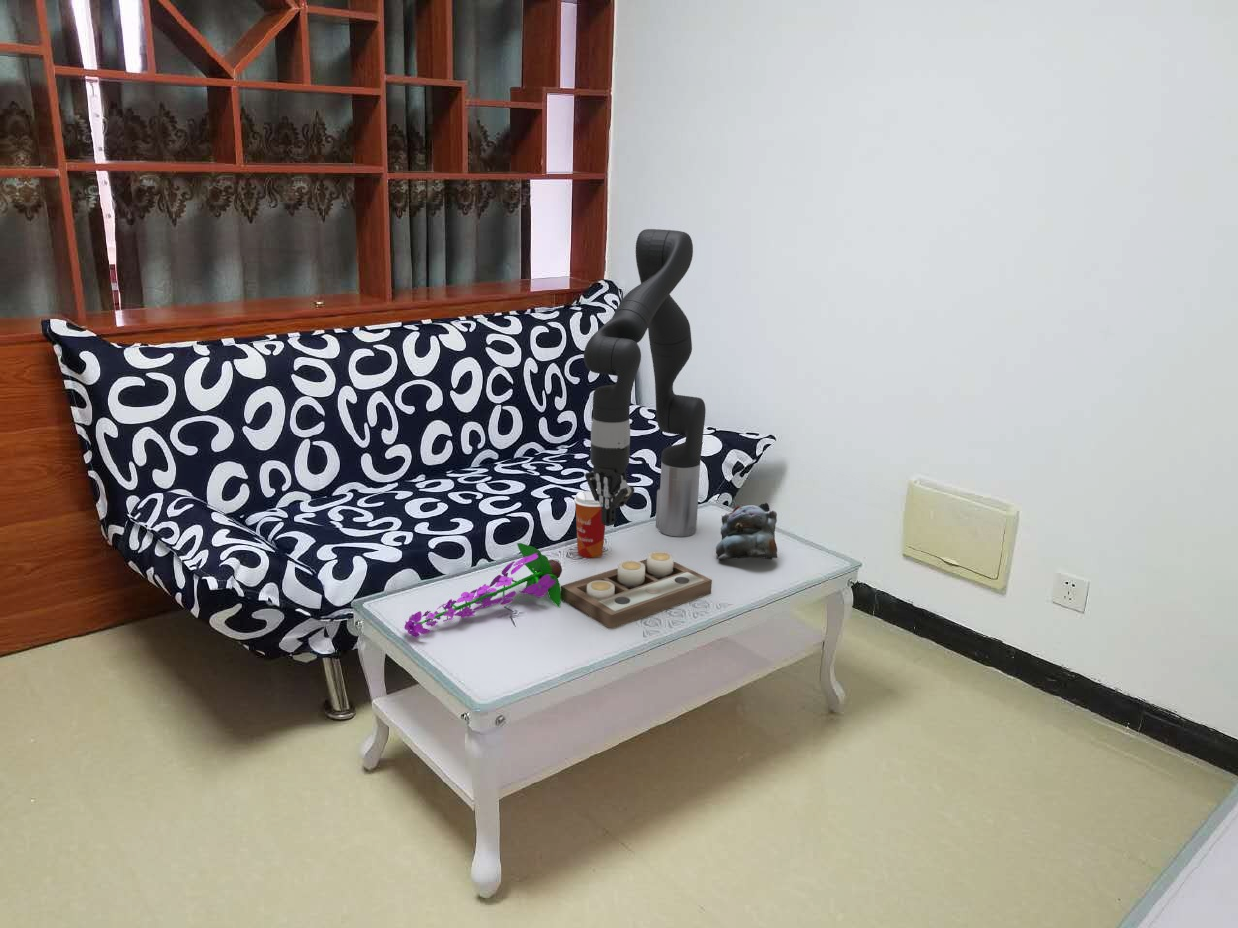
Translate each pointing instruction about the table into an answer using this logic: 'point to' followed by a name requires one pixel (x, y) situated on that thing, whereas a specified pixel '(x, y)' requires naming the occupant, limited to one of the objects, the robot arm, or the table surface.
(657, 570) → the button
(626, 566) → the button mid
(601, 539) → the paper cup
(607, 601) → the wooden candle tray
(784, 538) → the table surface
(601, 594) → the button
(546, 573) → the purple flower sprig
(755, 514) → the lucky cat figurine
